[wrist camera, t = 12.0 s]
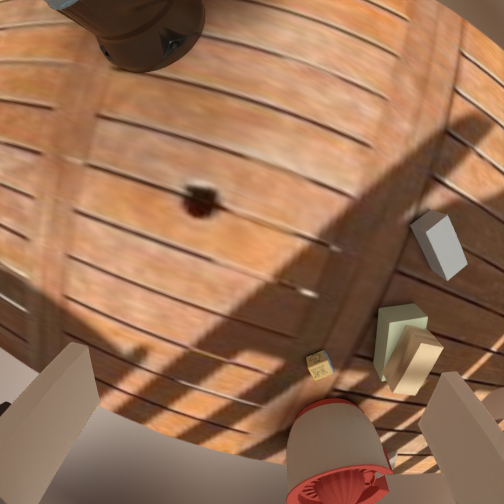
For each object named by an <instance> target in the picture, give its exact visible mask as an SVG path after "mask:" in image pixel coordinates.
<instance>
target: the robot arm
mask: <svg viewBox="0 0 504 504" xmlns="http://www.w3.org/2000/svg"><path fill="white" fill-rule="evenodd" d="M44 1H45V2H47V3H48V5H49V7H50V8H52V9H54V10H56V11H58V12H60V13H61V14H63V15H65V16H66V17H68V18H70V19H71V20H73V21H75V22H76V23H78V24H79V25H81V26H82V27H84V28H86V29H87V30H89V31H90V32H92V33H93V34H95V36H96V38H97V41H98V43H99V45H100V48H101V50H102V52H103V54H104V55H105V57H106V58H107V59H108V60H109V61H111V62H112V63H113V64H115V65H117V66H118V67H120V68H122V69H124V70H127V71H131V72H150V71H154V70H158V69H161V68H164V67H166V66H168V65H170V64H172V63H174V62H175V61H177V60H178V59H180V58H181V57H183V56H184V55H185V54H186V53H187V52H188V51H189V50H190V49H191V48H192V47H193V46H194V44H195V43H196V42H197V40H198V39H199V37H200V35H201V33H202V30H203V27H204V23H205V11H204V7H203V5H202V2H201V0H44ZM99 403H100V400H99V396H98V392H97V387H96V383H95V379H94V374H93V370H92V365H91V360H90V355H89V349H88V346H86V345H81V344H77V343H74V342H71V343H70V344H69V345H68V346H67V347H66V348H65V349H64V350H63V351H62V352H61V353H60V354H59V355H58V356H57V357H56V358H55V359H54V360H53V361H52V362H51V363H50V364H49V365H48V366H47V367H46V368H45V369H44V370H43V371H42V372H41V373H40V374H39V375H38V376H37V377H36V378H35V380H34V381H33V382H32V383H31V384H30V385H29V386H28V387H27V388H26V389H25V390H24V391H23V392H22V393H21V394H20V395H19V397H18V398H17V399H16V400H15V401H14V402H13V403H12V404H11V403H9V402H4V403H2V404H0V504H38V503H39V501H40V500H41V498H42V496H43V494H44V493H45V491H46V489H47V487H48V486H49V484H50V482H51V480H52V479H53V477H54V476H55V474H56V472H57V470H58V469H59V467H60V465H61V464H62V462H63V460H64V459H65V457H66V455H67V454H68V452H69V450H70V449H71V447H72V445H73V444H74V442H75V441H76V439H77V437H78V436H79V434H80V433H81V431H82V429H83V428H84V426H85V425H86V423H87V421H88V420H89V418H90V417H91V415H92V413H93V412H94V410H95V409H96V407H97V406H98V404H99ZM418 426H419V428H420V430H421V432H422V434H423V436H424V438H425V440H426V442H427V444H428V446H429V448H430V450H431V452H432V454H433V456H434V458H435V460H436V462H437V464H438V466H439V468H440V470H441V473H442V475H443V477H444V479H445V481H446V483H447V485H448V488H449V490H450V492H451V494H452V496H453V499H454V501H455V503H456V504H504V432H503V431H502V430H501V428H500V427H499V426H498V424H497V423H496V421H495V420H494V419H493V418H492V416H491V415H490V413H489V412H488V411H487V409H486V408H485V407H484V405H483V404H482V403H481V402H480V400H479V399H478V398H477V396H476V395H475V394H474V393H473V391H472V390H471V389H470V387H469V386H468V385H467V384H466V382H465V381H464V380H463V379H462V377H461V376H460V375H459V374H458V373H457V371H456V372H446V373H442V374H441V377H440V379H439V381H438V383H437V386H436V388H435V390H434V392H433V394H432V397H431V399H430V401H429V403H428V405H427V407H426V409H425V411H424V413H423V415H422V417H421V419H420V421H419V423H418Z"/></svg>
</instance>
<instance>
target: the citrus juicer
mask: <svg viewBox="0 0 504 504" xmlns="http://www.w3.org/2000/svg"><path fill="white" fill-rule="evenodd" d="M397 453H398V451H397V450H395V451H393V452H391V453H389V454H387V453H386V450H385V448H383V447H382V444H381V441H380V439H379V436H378V434H377V432H376V430H375V428H374V426H373V424H372V423H371V421H370V420H369V419H368V418H367V416H366V415H365V414H364V412H363V411H362V410H361V409H360V408H359V407H357V406H356V405H355V404H353V403H352V402H350V401H348V400H345V399H339V398H330V399H324V400H320V401H317V402H314V403H312V404H310V405H309V406H307V407H305V408H304V409H303V410H302V411H301V412H300V413H299V414H298V415H297V417H296V419H295V421H294V423H293V425H292V427H291V431H290V435H289V439H288V444H287V451H286V461H287V478H288V479H287V480H288V495H287V498H286V503H287V504H374V503H375V502H377V501H379V500H380V499H381V498H383V497H384V496H385V495H386V494H387V493H388V492H389V490H388V486H387V482H386V478H385V474H392V473H393V468H394V465H395V461H396V458H397Z"/></svg>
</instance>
